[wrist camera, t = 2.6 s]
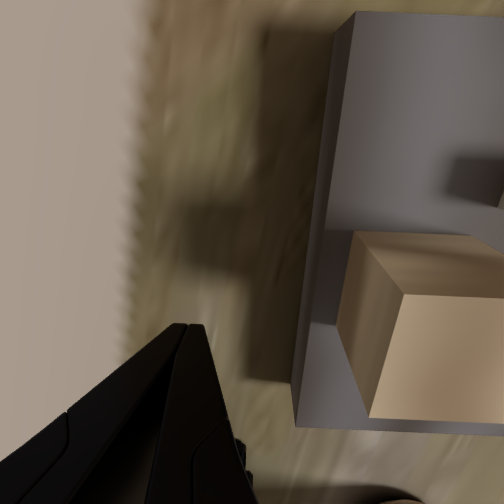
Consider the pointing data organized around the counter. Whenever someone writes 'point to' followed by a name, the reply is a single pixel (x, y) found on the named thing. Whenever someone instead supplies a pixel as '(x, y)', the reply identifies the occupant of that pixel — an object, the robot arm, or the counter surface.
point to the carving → (402, 502)
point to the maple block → (425, 326)
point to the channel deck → (397, 179)
